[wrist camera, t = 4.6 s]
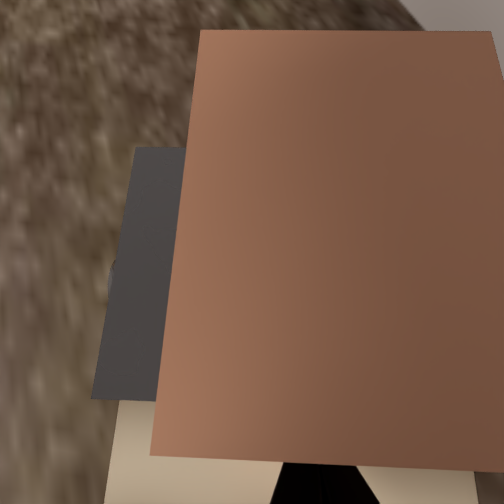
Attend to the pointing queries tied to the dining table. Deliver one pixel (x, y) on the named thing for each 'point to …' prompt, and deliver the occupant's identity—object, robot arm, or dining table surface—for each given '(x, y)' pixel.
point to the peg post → (339, 253)
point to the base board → (245, 474)
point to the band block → (141, 279)
